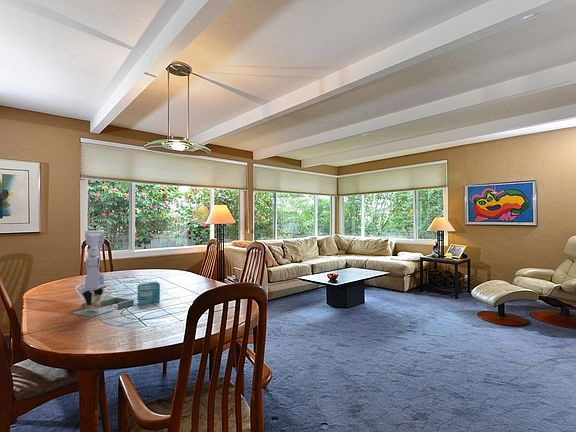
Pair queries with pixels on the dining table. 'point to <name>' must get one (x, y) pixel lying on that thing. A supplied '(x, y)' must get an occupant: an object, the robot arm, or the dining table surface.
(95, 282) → the robot arm
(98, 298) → the block
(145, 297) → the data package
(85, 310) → the rubber mat
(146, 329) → the dining table surface
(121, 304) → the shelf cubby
